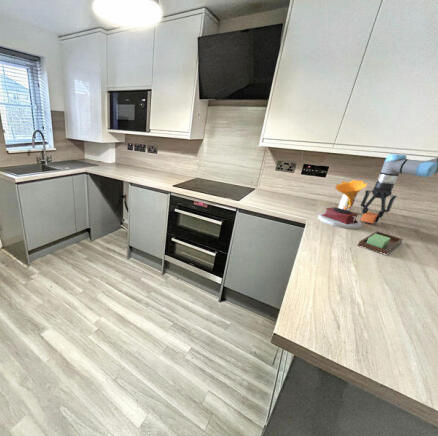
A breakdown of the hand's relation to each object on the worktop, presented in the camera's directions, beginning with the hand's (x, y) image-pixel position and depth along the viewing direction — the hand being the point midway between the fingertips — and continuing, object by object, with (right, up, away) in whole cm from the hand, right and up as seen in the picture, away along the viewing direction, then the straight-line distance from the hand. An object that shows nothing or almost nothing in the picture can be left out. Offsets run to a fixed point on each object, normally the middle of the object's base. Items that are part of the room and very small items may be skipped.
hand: (369, 220), depth 142 cm
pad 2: (-26, -12, -31) cm, 42 cm away
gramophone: (-20, -1, -1) cm, 20 cm away
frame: (-21, -12, -28) cm, 37 cm away
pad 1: (0, 0, 0) cm, 0 cm away
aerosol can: (-1, +6, +18) cm, 19 cm away
